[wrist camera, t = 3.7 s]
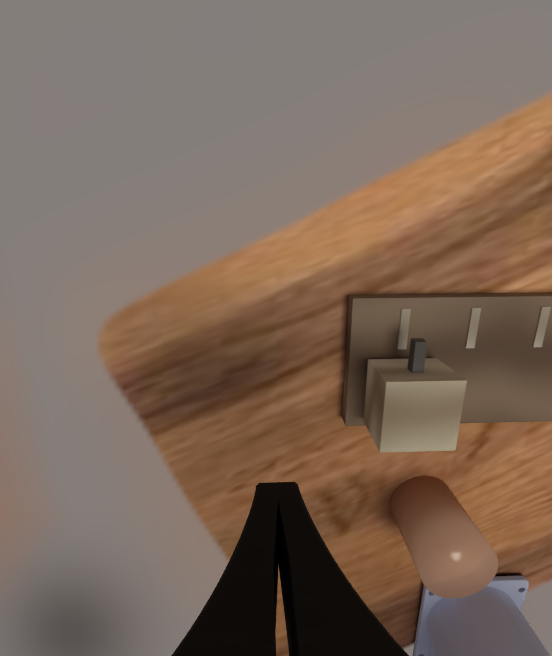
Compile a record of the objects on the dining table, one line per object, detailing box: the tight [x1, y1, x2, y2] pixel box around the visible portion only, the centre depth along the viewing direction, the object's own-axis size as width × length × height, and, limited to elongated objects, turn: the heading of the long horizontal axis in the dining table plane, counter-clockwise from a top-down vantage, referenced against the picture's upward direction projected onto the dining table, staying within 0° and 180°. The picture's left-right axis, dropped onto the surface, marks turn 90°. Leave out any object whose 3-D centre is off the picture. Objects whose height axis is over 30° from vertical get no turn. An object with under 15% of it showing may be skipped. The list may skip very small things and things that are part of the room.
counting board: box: [342, 293, 552, 426], centre depth 20 cm, size 8×22×1 cm, turn 90°
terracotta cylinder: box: [390, 476, 498, 598], centre depth 21 cm, size 4×4×5 cm
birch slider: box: [363, 338, 467, 452], centre depth 18 cm, size 6×4×3 cm
